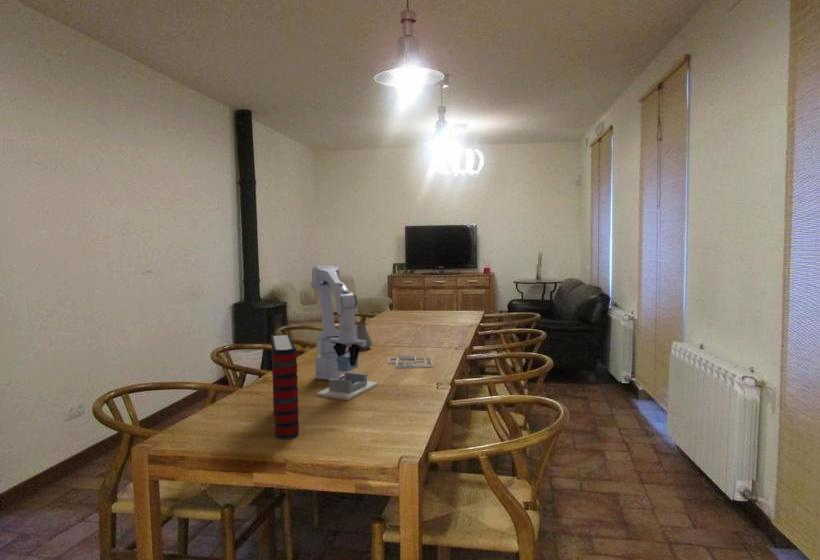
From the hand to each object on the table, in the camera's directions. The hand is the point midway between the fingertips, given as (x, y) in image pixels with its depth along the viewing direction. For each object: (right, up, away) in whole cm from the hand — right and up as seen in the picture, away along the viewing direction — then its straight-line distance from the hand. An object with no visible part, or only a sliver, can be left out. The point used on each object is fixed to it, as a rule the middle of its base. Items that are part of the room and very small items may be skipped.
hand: (347, 364), depth 190 cm
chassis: (0, -9, +1) cm, 9 cm away
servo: (0, -2, 0) cm, 2 cm away
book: (-15, -13, -33) cm, 38 cm away
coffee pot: (-2, -4, +67) cm, 68 cm away
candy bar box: (-7, -6, +45) cm, 46 cm away
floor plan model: (+19, -7, +41) cm, 46 cm away
